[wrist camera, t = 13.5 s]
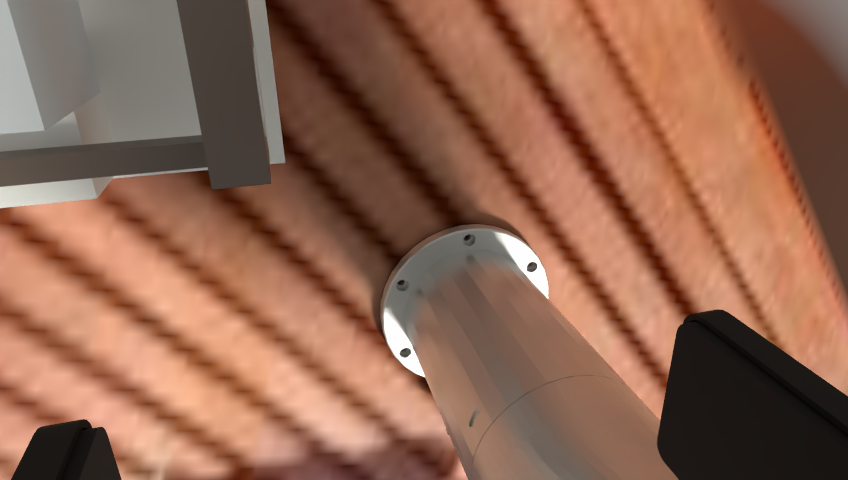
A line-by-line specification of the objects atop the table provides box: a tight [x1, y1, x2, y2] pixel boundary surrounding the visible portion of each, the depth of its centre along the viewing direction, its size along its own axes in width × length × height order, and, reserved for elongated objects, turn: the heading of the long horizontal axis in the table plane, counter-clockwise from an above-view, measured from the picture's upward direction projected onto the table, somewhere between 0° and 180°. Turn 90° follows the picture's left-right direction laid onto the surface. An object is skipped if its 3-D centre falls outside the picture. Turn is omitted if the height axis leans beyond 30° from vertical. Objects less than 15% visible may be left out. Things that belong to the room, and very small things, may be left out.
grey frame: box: [0, 0, 271, 190], centre depth 23 cm, size 12×14×5 cm
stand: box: [0, 0, 285, 208], centre depth 26 cm, size 16×18×10 cm
